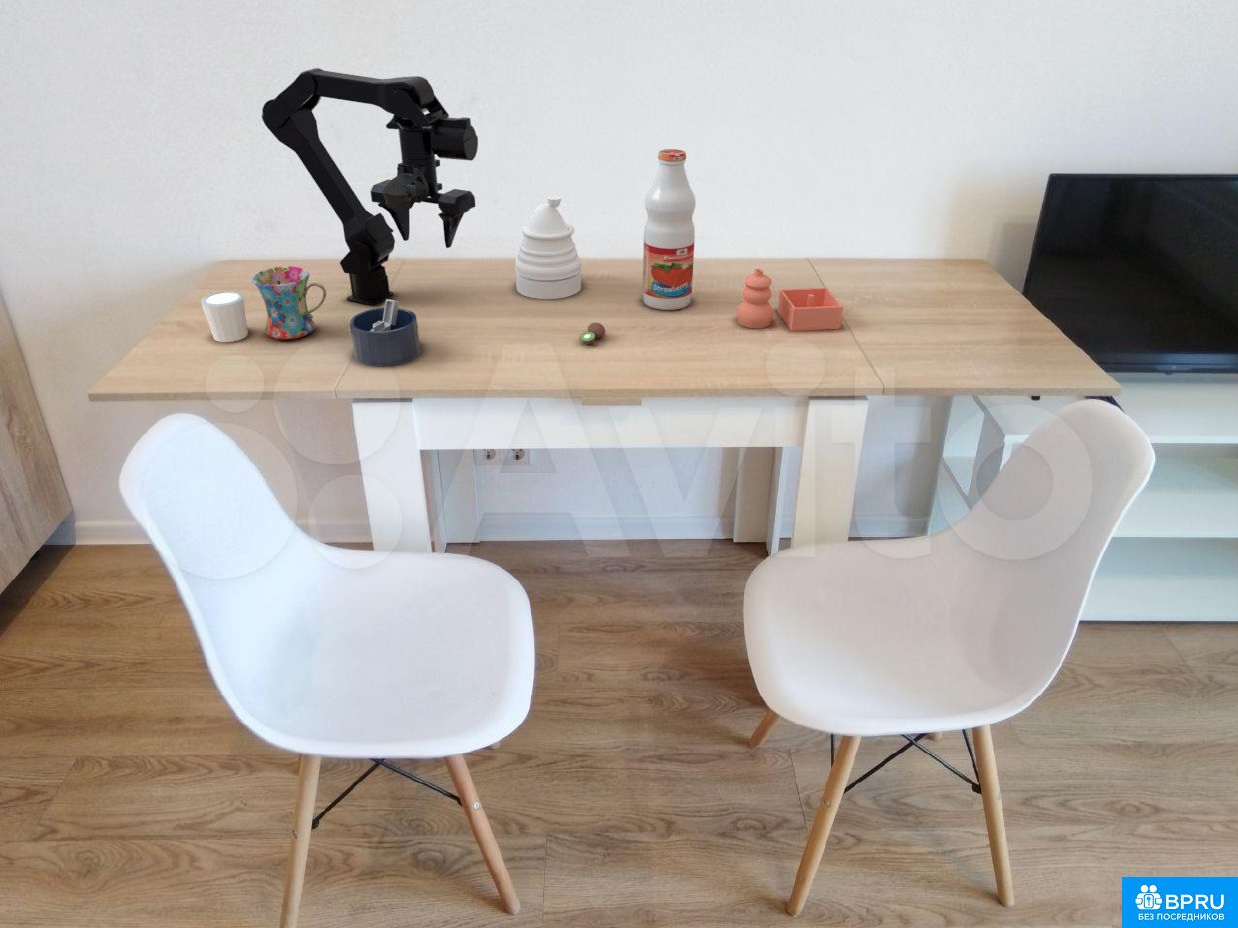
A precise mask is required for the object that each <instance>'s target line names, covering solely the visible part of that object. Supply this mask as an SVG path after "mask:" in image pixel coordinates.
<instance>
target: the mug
mask: <svg viewBox="0 0 1238 928" xmlns="http://www.w3.org/2000/svg"><path fill="white" fill-rule="evenodd" d="M309 278H310V272H309V271H308V270H307V269H306V268H303V267H299V266H291V265H289V266H287V265H286V266H285V265H284V266H276V267H270V268H266V269H263V270H260V271H258V272H256V273H255V274H254V275H253V276H252V278H251V281H252V283H253V284H254V286H255V287H256V288H257V290H258V291H259V294H260V295H261V297H262V300H263V303H264V305H265V309H266V326H265V329H264V331H265V334H266V335H267V336H268V337H270V338H272V339H276V340H295V339H300V338H303V337H305V336H308V335H310V334H312V333H313V332H314V330H316V322H315V321H314V320H313V318H314V316H313V315H312V313H313V312H315V311H316V310H318V309H319V308H320V307H321V306H322V305H323V304H324V302H325V300H326V298H327V289H326V287H325V286H324V285H323V284H320V283H318V282H313V283H310V284H309V285H308V281H309ZM311 287H318V288H320V289H321V290H322V292H323V294H322V298H321V301H320V302H319V303H318V304H317V305H316V306H315V307H314V308H312V309H310V310H309V308H308V305H307V295H308V292H309V290H310V288H311Z"/></svg>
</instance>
